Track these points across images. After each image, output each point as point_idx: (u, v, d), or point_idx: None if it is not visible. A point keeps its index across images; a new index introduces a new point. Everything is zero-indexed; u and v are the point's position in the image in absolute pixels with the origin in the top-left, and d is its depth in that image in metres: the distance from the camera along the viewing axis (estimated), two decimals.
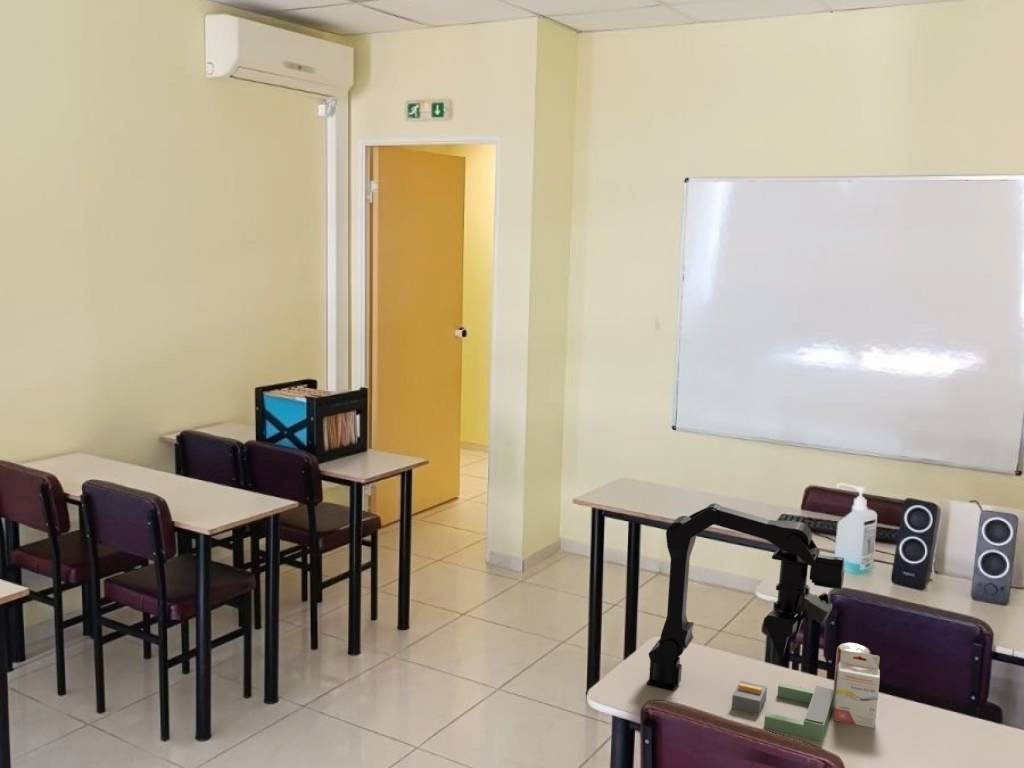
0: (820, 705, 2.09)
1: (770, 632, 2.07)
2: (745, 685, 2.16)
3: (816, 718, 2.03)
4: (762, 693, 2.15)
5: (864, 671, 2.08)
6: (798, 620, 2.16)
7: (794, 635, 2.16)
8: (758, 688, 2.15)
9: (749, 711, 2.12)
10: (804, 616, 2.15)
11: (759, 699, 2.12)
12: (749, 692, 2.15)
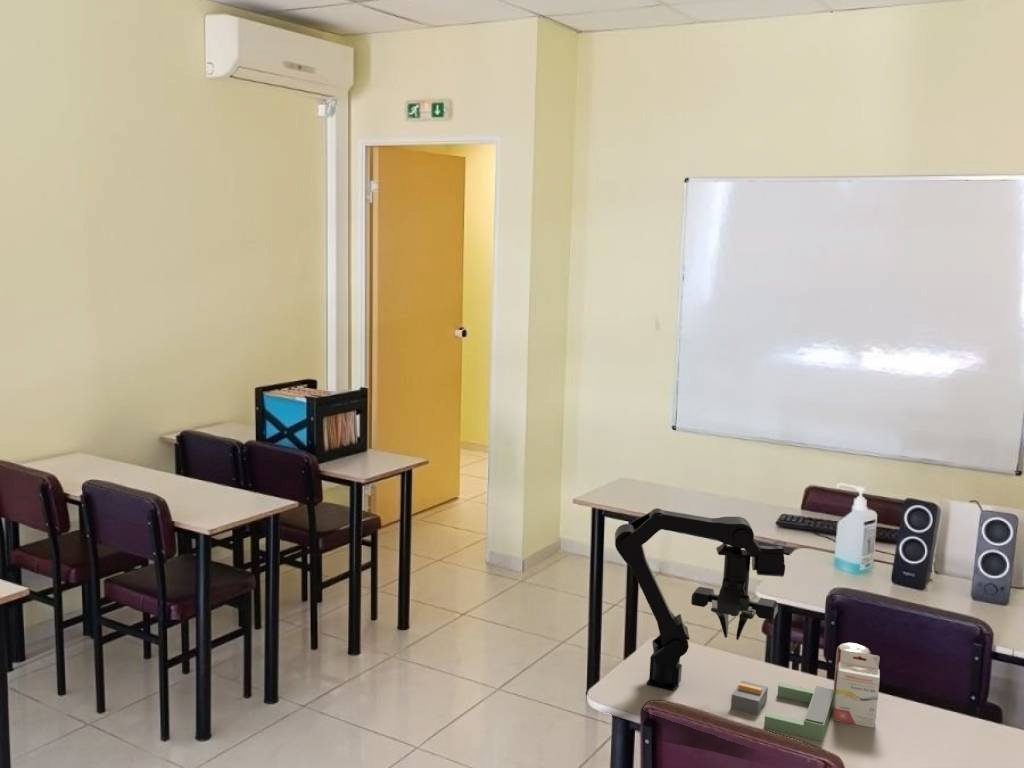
0: (820, 705, 2.09)
1: None
2: (745, 685, 2.16)
3: (816, 718, 2.03)
4: (762, 693, 2.15)
5: (864, 671, 2.08)
6: None
7: None
8: (758, 688, 2.15)
9: (748, 711, 2.12)
10: None
11: (758, 699, 2.12)
12: (749, 692, 2.15)
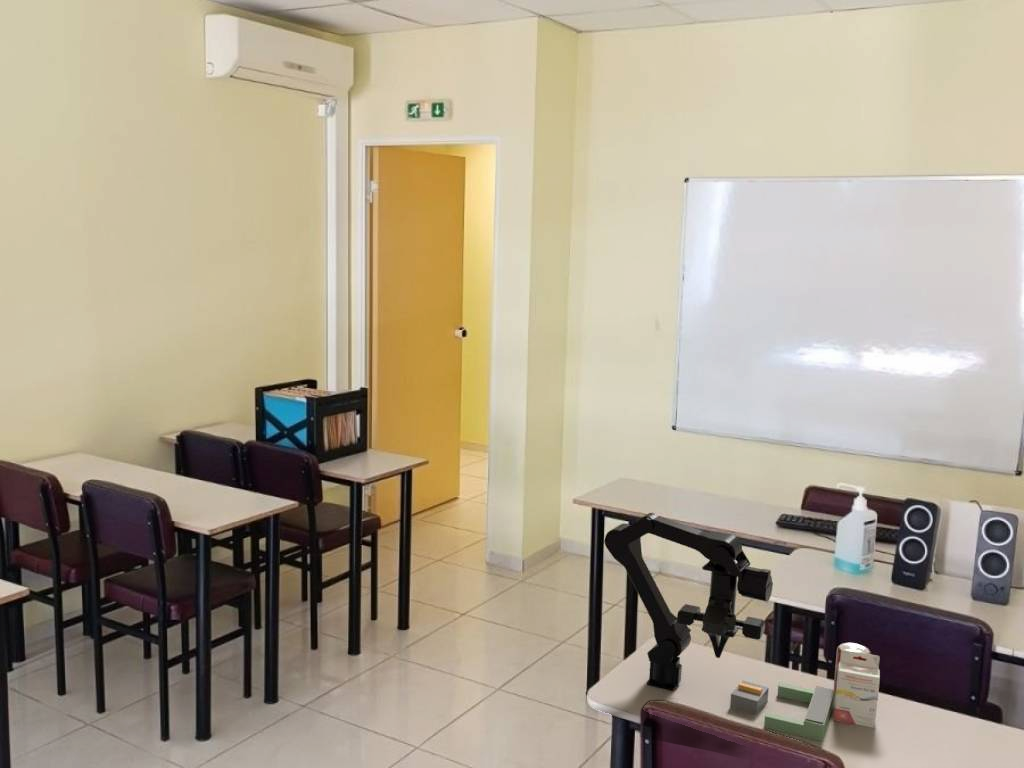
0: (820, 705, 2.09)
1: None
2: (745, 685, 2.16)
3: (816, 718, 2.03)
4: (762, 694, 2.15)
5: (864, 671, 2.08)
6: None
7: None
8: (758, 688, 2.15)
9: (747, 711, 2.13)
10: None
11: (757, 699, 2.12)
12: (749, 692, 2.15)
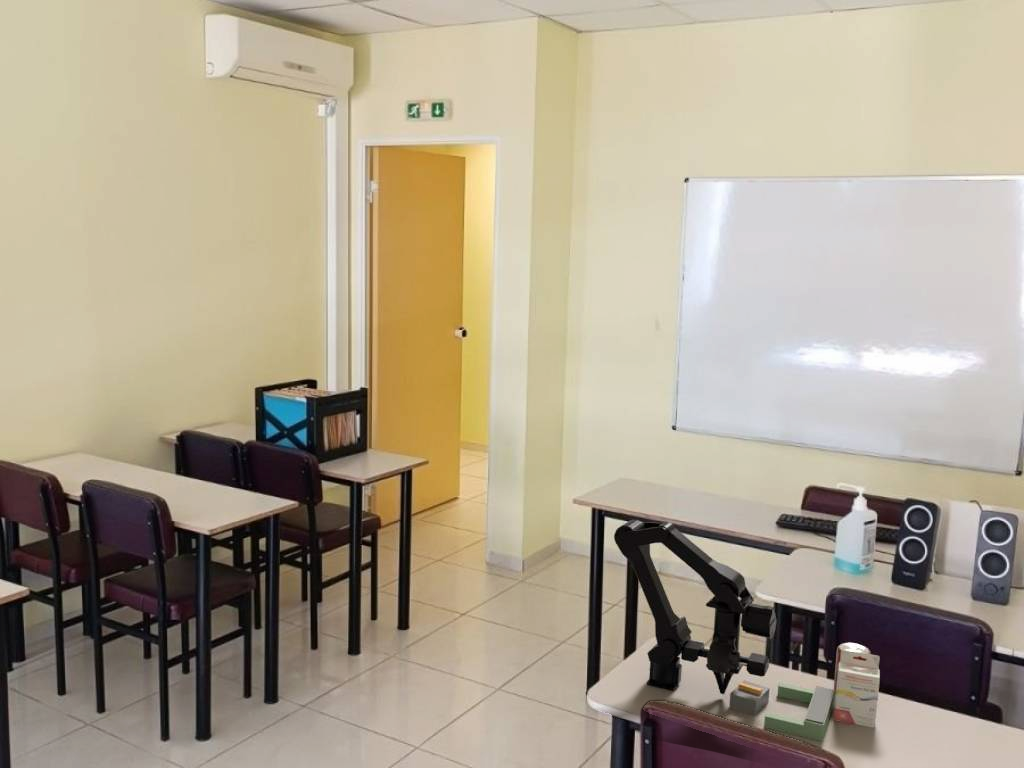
0: (820, 705, 2.09)
1: None
2: (745, 685, 2.16)
3: (816, 718, 2.03)
4: (761, 694, 2.14)
5: (864, 671, 2.08)
6: None
7: None
8: (757, 688, 2.15)
9: (746, 711, 2.13)
10: None
11: (756, 699, 2.12)
12: (748, 692, 2.15)
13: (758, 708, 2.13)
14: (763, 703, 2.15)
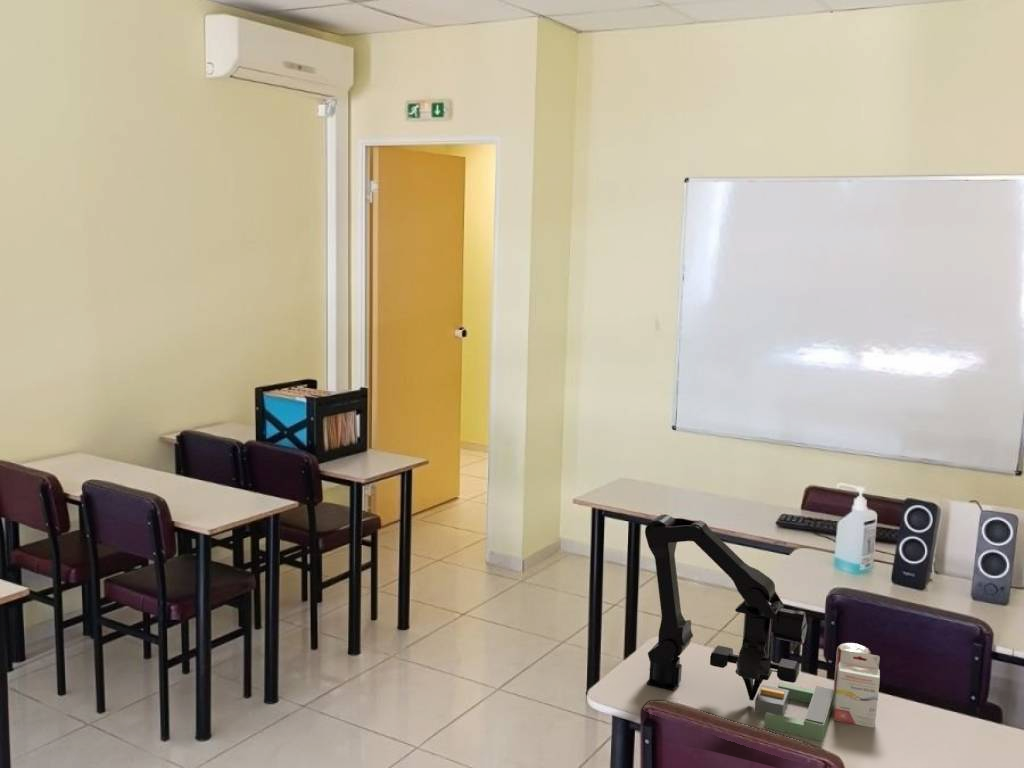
0: (820, 705, 2.09)
1: None
2: (767, 689, 2.15)
3: (816, 718, 2.03)
4: (785, 697, 2.14)
5: (864, 671, 2.08)
6: None
7: None
8: (780, 692, 2.14)
9: None
10: None
11: (782, 703, 2.11)
12: (772, 696, 2.14)
13: (783, 712, 2.12)
14: (786, 706, 2.15)
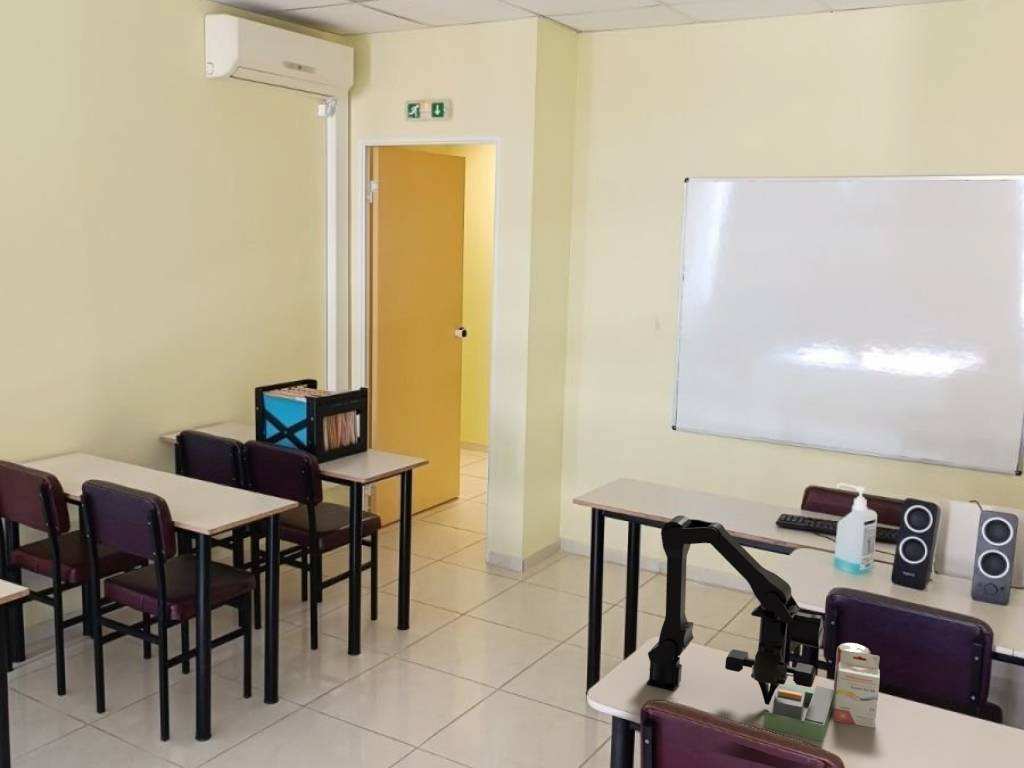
0: (820, 705, 2.09)
1: None
2: (785, 691, 2.14)
3: (816, 718, 2.03)
4: (802, 699, 2.13)
5: (864, 671, 2.08)
6: None
7: (767, 697, 2.14)
8: (798, 693, 2.13)
9: (791, 717, 2.10)
10: None
11: (801, 705, 2.10)
12: (789, 698, 2.13)
13: None
14: (803, 707, 2.14)
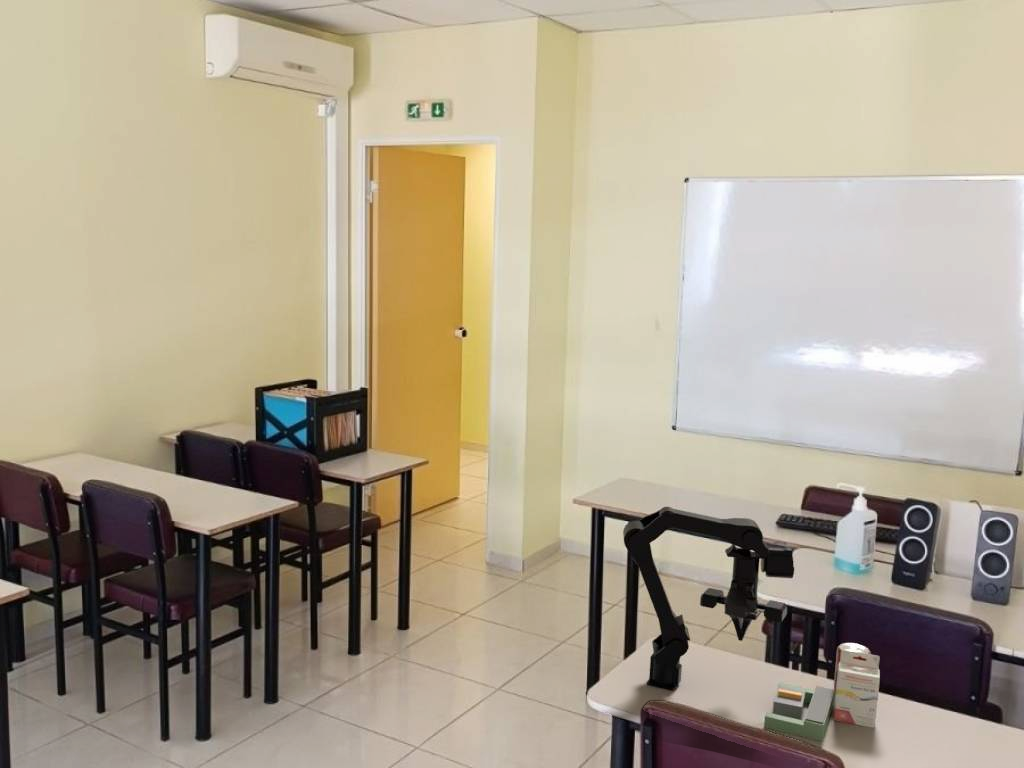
0: (820, 705, 2.09)
1: None
2: (785, 691, 2.14)
3: (816, 718, 2.03)
4: (802, 698, 2.13)
5: (864, 671, 2.08)
6: None
7: None
8: (798, 693, 2.13)
9: (791, 717, 2.10)
10: (743, 617, 2.19)
11: (801, 705, 2.10)
12: (789, 698, 2.13)
13: None
14: (803, 707, 2.14)
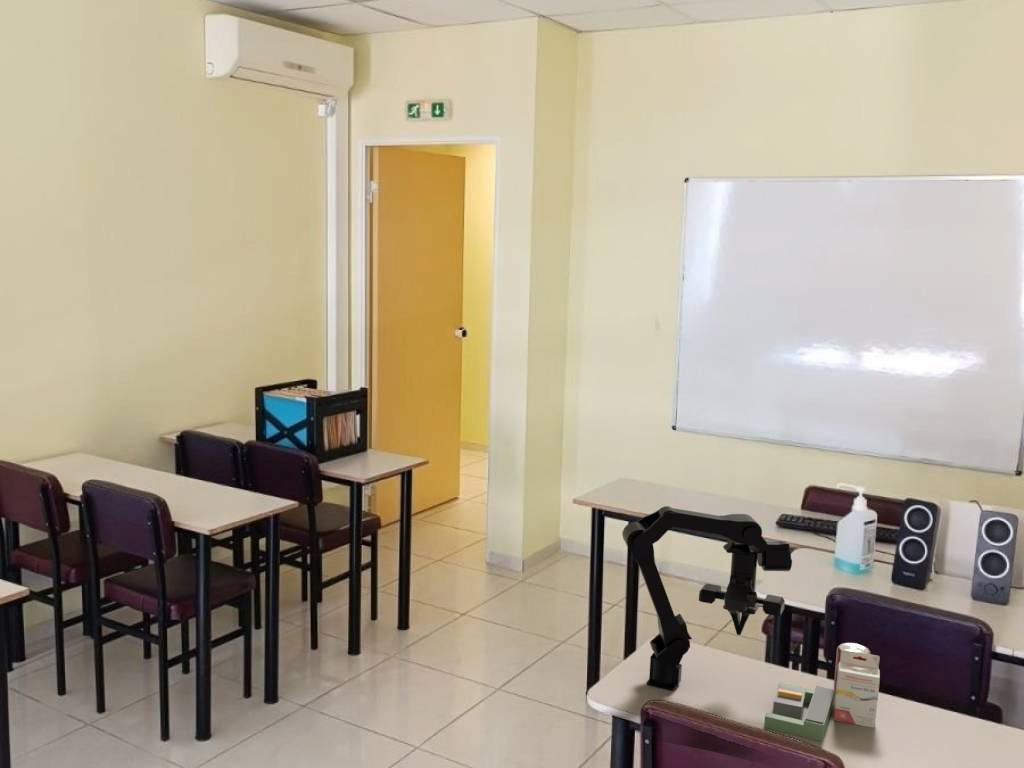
0: (820, 705, 2.09)
1: None
2: (785, 691, 2.14)
3: (816, 718, 2.03)
4: (802, 698, 2.13)
5: (864, 671, 2.08)
6: None
7: None
8: (798, 693, 2.13)
9: (791, 717, 2.10)
10: None
11: (801, 705, 2.10)
12: (789, 698, 2.13)
13: None
14: (803, 707, 2.14)
